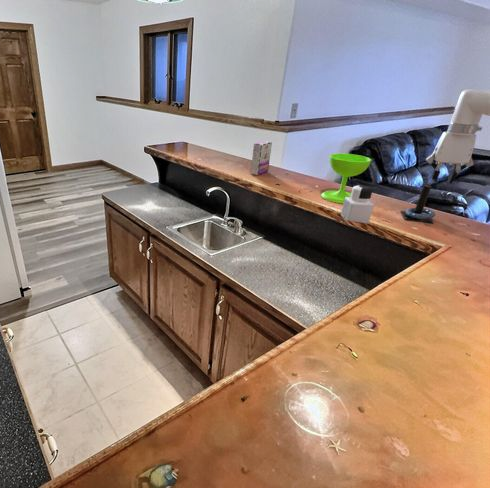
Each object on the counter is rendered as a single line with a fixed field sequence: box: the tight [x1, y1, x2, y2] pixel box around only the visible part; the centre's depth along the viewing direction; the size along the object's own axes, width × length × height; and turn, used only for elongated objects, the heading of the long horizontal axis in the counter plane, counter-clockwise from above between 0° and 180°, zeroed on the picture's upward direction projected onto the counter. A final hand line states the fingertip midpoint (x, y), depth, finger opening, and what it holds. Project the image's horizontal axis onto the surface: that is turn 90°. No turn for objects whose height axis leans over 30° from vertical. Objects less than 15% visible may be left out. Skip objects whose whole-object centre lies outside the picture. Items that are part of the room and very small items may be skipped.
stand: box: [400, 184, 434, 225], centre depth 131 cm, size 9×9×14 cm
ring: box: [404, 207, 436, 220], centre depth 133 cm, size 9×9×2 cm
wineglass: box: [320, 153, 372, 205], centre depth 152 cm, size 16×16×18 cm
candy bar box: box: [250, 140, 273, 176], centre depth 188 cm, size 11×5×16 cm, turn 136°
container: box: [340, 184, 375, 224], centre depth 130 cm, size 8×8×13 cm
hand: (441, 181), depth 126 cm, fingers open, 4 cm apart
